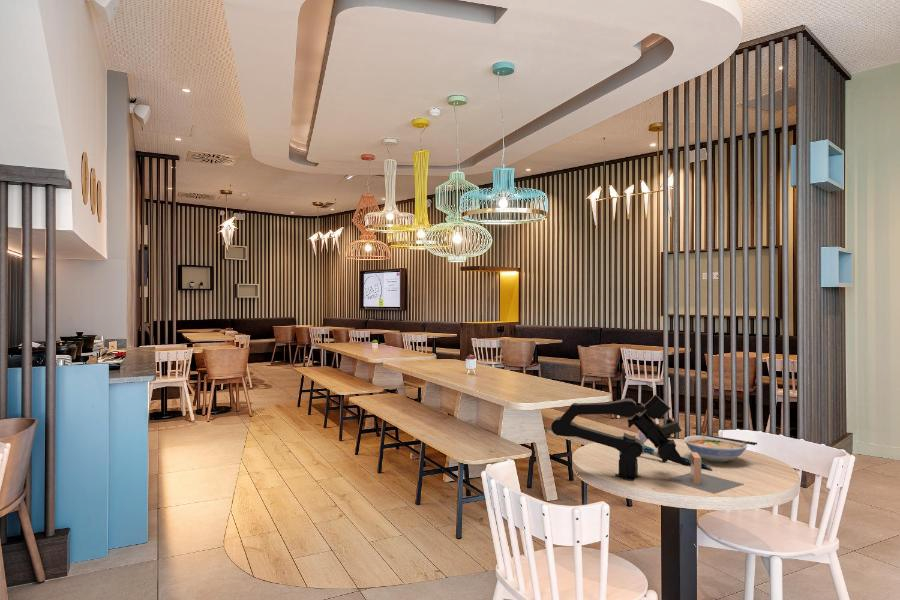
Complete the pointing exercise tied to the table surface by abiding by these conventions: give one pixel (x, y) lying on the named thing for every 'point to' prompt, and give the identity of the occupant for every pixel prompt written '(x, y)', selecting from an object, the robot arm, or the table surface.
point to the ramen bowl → (716, 447)
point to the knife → (686, 461)
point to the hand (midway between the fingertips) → (682, 462)
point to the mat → (706, 483)
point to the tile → (696, 468)
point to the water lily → (642, 437)
